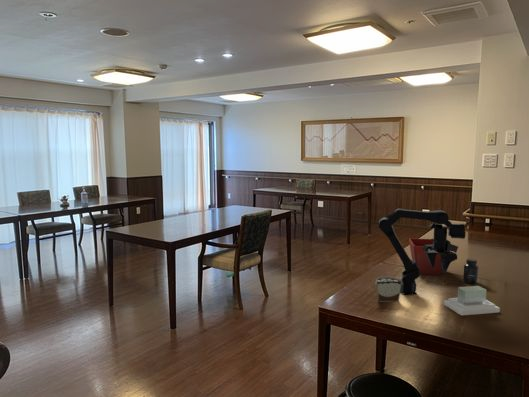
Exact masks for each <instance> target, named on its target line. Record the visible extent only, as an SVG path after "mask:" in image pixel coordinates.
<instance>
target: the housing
mask: <svg viewBox="0 0 529 397" xmlns="http://www.w3.org/2000/svg"><path fill="white" fill-rule="evenodd" d="M456 298H457V302H458V303H460V304H462V305H463V306H469V305H482V304H486V300H487V289H486V288H483V287H482V286H480V285H473V286H458V287H457V297H456Z"/></svg>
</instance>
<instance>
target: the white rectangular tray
mask: <svg viewBox="0 0 529 397" xmlns="http://www.w3.org/2000/svg"><path fill="white" fill-rule="evenodd" d="M443 306H445V307H447V308H448V309H450V310H452V311H454V312H455V313H456V314H458V315H460V316H470V315H482V314H483V315H484V314H494V313H500V311H501V310H500V309H501V307H499V306H497V305H496V304H495V303H494V302H491V301H489V300H488V299H486V304H482V305H469V306H463V305H462V304H460V303H458V302H457V297H450V298H448V299H444V300H443Z"/></svg>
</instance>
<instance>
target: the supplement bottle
mask: <svg viewBox="0 0 529 397" xmlns="http://www.w3.org/2000/svg"><path fill="white" fill-rule="evenodd" d="M477 264H478V261H477V259H476V258H467V259H466V262H465V264H463V272H462V273H463V274H462V282H464V283H466V284H470V285H475V284H477V283H478V281H479V268H480V267H479V265H477Z"/></svg>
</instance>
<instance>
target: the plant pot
mask: <svg viewBox="0 0 529 397" xmlns="http://www.w3.org/2000/svg"><path fill="white" fill-rule="evenodd" d="M431 239H432V238H416V237H415V238H414V237H413V238H409V239H408V243H409V250H410V255H411V260H412V261H413V260H414V259H415V262H416V264H417V265H418V266H419V269H420V270H419V273H420V275H432V276H433V275H434V276H436V275H437V276H438V275H439V276H442V275H443V270H442V265H441V261H440V259H441V257H440V254H437V255H436V258H435V265H434V267H432V266H431V264H430V262H429V260H428V258H427V256H426V254H425V253H424V252H425V251H423V246H424V245H432V244H433V241H431ZM446 252H451V251H446Z"/></svg>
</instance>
